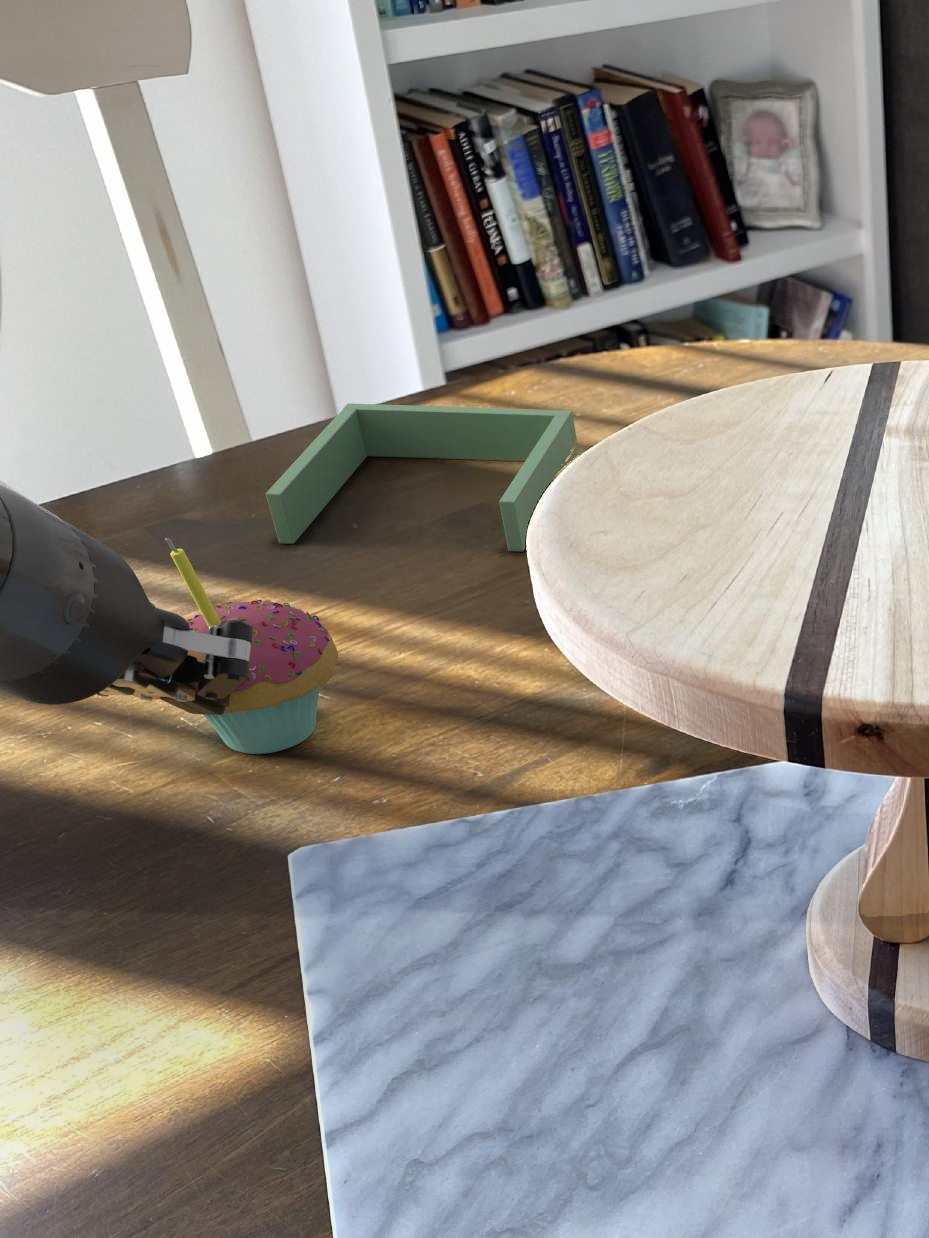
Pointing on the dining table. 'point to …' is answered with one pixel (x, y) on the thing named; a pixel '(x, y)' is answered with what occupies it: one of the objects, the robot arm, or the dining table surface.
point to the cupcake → (267, 669)
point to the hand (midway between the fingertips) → (211, 695)
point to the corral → (426, 455)
